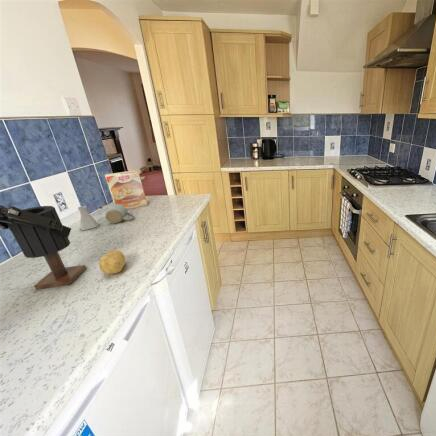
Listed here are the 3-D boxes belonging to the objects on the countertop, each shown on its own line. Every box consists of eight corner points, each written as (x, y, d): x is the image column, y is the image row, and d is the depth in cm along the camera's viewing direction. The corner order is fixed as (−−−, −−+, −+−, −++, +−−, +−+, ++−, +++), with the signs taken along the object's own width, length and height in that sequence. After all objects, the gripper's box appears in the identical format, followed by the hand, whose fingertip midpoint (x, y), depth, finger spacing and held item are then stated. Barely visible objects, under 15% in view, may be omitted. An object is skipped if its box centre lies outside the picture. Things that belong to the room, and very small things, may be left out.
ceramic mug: (107, 225, 115) (102, 210, 112) (112, 218, 122) (107, 204, 119) (132, 221, 118) (128, 207, 115) (136, 215, 125) (132, 201, 122)
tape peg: (36, 289, 73) (10, 244, 66) (56, 272, 81) (35, 230, 75) (70, 285, 74) (48, 240, 68) (86, 268, 82) (68, 227, 76)
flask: (98, 222, 118) (91, 203, 114) (99, 227, 113) (92, 207, 109) (80, 226, 114) (71, 207, 110) (80, 231, 109) (71, 211, 105)
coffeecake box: (117, 211, 131) (105, 176, 124) (115, 208, 136) (103, 174, 128) (148, 204, 141) (138, 171, 133) (144, 202, 145) (135, 169, 138)
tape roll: (14, 257, 69) (-7, 219, 64) (49, 240, 78) (32, 205, 73) (47, 258, 68) (27, 219, 63) (78, 240, 77) (63, 205, 73)
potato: (98, 282, 75) (91, 265, 73) (108, 263, 85) (102, 248, 82) (123, 276, 77) (117, 260, 75) (130, 259, 87) (125, 243, 84)
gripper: (-102, 216, 53) (13, 244, 74) (-8, 216, 52) (82, 244, 72) (-82, 186, 56) (23, 221, 76) (8, 185, 54) (91, 221, 75)
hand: (52, 232), depth 74 cm, fingers closed on tape roll, 10 cm apart
